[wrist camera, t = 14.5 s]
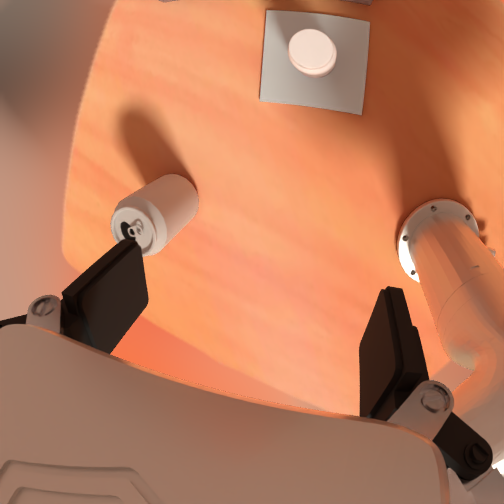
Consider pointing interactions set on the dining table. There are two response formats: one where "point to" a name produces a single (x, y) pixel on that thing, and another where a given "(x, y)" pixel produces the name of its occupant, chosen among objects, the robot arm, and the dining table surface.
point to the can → (155, 213)
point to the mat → (306, 88)
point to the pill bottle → (312, 53)
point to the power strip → (362, 0)
